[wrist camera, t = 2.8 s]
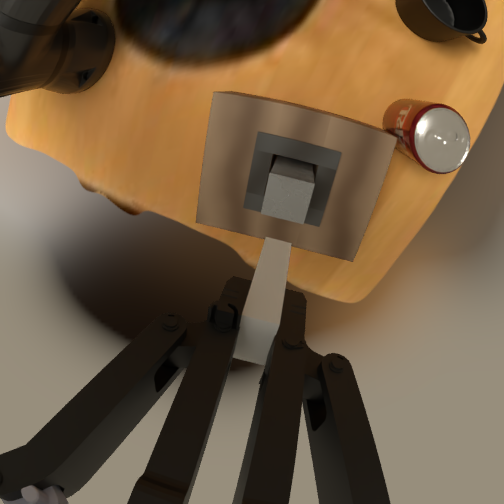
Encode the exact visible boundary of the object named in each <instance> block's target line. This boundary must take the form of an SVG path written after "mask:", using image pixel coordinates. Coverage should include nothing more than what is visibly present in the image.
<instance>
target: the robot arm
mask: <svg viewBox="0 0 504 504" xmlns="http://www.w3.org/2000/svg"><path fill="white" fill-rule="evenodd" d="M80 1H81V0H0V97H4V96H8V95H12V94H16V93H20V92H24V91H28V90H33V89H38V88H43V89H47V90H50V91H53V92H57V93H60V94H71V93H77V92H81V91H84V90H86V89H88V88H89V87H91V86H92V85H93V84H94V83H96V82H97V81H98V79H99V78H100V77H101V76H102V74H103V73H104V71H105V70H106V68H107V66H108V64H109V62H110V60H111V57H112V54H113V50H114V43H115V33H114V27H113V24H112V22H111V20H110V18H109V17H108V16H107V15H106V14H105V13H103V12H102V11H99V10H95V9H90V8H80V9H75V8H76V6H77V5H78V4H79V3H80ZM74 9H75V10H74ZM291 245H292V243H288V242H284V241H281V240H277V239H273V238H269V237H266V238H265V241H264V245H263V248H262V251H261V254H260V258H259V261H258V264H257V267H256V271H255V274H254V277H253V280H252V281H250V280H246V279H242V278H239V277H235V276H233V277H232V278H231V279H229V280H228V281H227V282H226V285H225V287H224V289H223V292H222V294H221V296H220V299H219V301H215V302H213V303H212V304H211V305H210V306H209V309H208V317H207V320H206V321H204V322H200V323H188V322H186V321H185V319H184V318H183V317H182V316H181V315H178V314H175V313H165V314H162V315H160V316H158V317H157V318H156V319H155V320H154V321H153V322H152V323H151V324H150V325H149V326H148V327H147V328H145V329H144V330H143V331H142V332H141V333H140V334H139V335H138V336H137V337H136V338H135V339H134V340H133V341H132V342H131V343H130V344H129V345H128V346H126V347H125V348H124V349H123V350H122V351H121V352H120V353H119V354H118V355H117V356H116V357H115V358H114V359H113V360H112V361H111V362H110V363H109V364H108V365H107V366H106V367H104V368H103V369H102V370H101V371H100V372H99V373H98V374H97V375H96V376H95V377H94V378H93V379H92V380H91V381H90V382H89V383H88V384H87V385H86V386H85V387H84V388H83V389H82V390H81V391H80V392H79V393H78V394H77V395H76V396H75V397H74V398H73V399H71V400H70V401H69V403H67V404H66V405H65V406H64V407H63V408H62V410H60V411H59V412H58V413H57V414H56V415H55V416H54V417H53V418H52V419H51V420H50V421H49V422H48V423H47V424H46V425H45V426H44V427H43V428H42V429H41V430H40V431H39V432H38V433H37V434H36V435H35V436H34V437H33V438H32V439H31V440H30V441H29V442H28V443H27V444H26V445H24V446H21V447H19V448H17V449H14V450H11V451H9V452H6V453H3V454H1V455H0V498H1V499H2V501H3V503H4V504H68V501H67V499H66V498H68V497H70V496H72V495H73V494H74V493H76V492H77V491H79V490H80V489H81V488H82V487H83V486H84V485H85V484H86V483H87V482H88V481H89V480H90V479H91V478H92V476H93V475H94V474H95V473H96V472H97V471H98V470H99V468H100V467H101V466H102V465H103V464H104V462H106V460H107V459H108V458H109V457H110V456H111V455H112V453H113V452H114V451H115V450H116V449H117V448H118V446H119V445H120V444H121V443H122V442H123V441H124V439H125V438H126V437H127V436H128V435H129V434H130V432H131V431H132V430H133V429H134V428H135V427H136V425H137V424H138V423H139V422H140V421H141V419H142V418H143V417H144V416H145V415H146V414H147V412H148V411H149V410H150V409H151V408H152V406H153V405H154V404H155V403H156V402H157V400H158V399H159V398H160V396H162V394H163V393H164V392H165V391H166V390H167V388H168V387H169V386H170V385H171V384H172V382H173V381H174V380H175V379H176V377H177V376H178V375H179V374H180V373H181V371H182V370H183V369H184V368H187V370H186V372H185V375H184V377H183V379H182V382H181V384H180V387H179V389H178V392H177V394H176V396H175V399H174V401H173V403H172V406H171V408H170V411H169V413H168V416H167V418H166V420H165V423H164V425H163V428H162V430H161V432H160V435H159V437H158V440H157V442H156V445H155V447H154V450H153V452H152V455H151V457H150V460H149V462H148V464H147V467H146V469H145V472H144V474H143V475H142V476H141V477H140V478H139V479H138V481H137V482H136V484H135V486H134V488H133V491H132V493H131V496H130V498H129V501H128V503H127V504H188V502H189V499H190V495H191V492H192V488H193V486H194V483H195V480H196V476H197V473H198V470H199V467H200V463H201V461H202V457H203V454H204V451H205V448H206V444H207V441H208V438H209V435H210V431H211V428H212V425H213V422H214V418H215V415H216V412H217V408H218V405H219V402H220V399H221V395H222V392H223V389H224V386H225V382H226V379H227V376H228V372H229V369H230V365H231V361H232V357H234V358H237V359H241V360H245V361H249V362H253V363H257V364H261V365H265V369H264V372H263V374H262V377H261V379H260V382H259V384H260V388H259V393H258V397H257V402H256V406H255V411H254V415H253V420H252V424H251V428H250V433H249V437H248V442H247V446H246V450H245V455H244V459H243V463H242V467H241V471H240V475H239V479H238V483H237V487H236V491H235V495H234V500H233V503H232V504H288V503H289V498H290V492H291V485H292V479H293V472H294V465H295V458H296V450H297V441H298V434H299V426H300V417H301V407H302V403H303V409H304V414H305V420H306V426H307V431H308V437H309V443H310V449H311V455H312V461H313V467H314V473H315V480H316V485H317V492H318V498H319V504H390V500H389V495H388V492H387V487H386V483H385V479H384V475H383V471H382V468H381V464H380V460H379V456H378V453H377V449H376V445H375V441H374V438H373V434H372V431H371V427H370V424H369V421H368V417H367V414H366V411H365V407H364V404H363V401H362V397H361V394H360V391H359V388H358V385H357V381H356V378H355V375H354V372H353V369H352V366H351V364H350V362H349V360H347V359H346V358H345V357H344V356H342V355H340V354H336V353H331V354H327V355H326V356H322V355H320V354H317V353H316V352H314V351H312V350H311V349H310V348H309V347H308V346H307V344H306V341H305V339H304V332H305V319H306V316H305V315H306V302H307V301H306V299H305V296H304V295H303V293H300V292H296V291H292V290H288V289H285V287H286V280H287V273H288V266H289V259H290V252H291ZM265 363H266V364H265Z"/></svg>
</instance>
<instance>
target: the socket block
mask: <svg viewBox="0 0 504 504" xmlns="http://www.w3.org/2000/svg"><path fill="white" fill-rule="evenodd" d="M396 141H397V137H395V136H393V135H391V134H389V133H388V132H386V131H384V130H382V129H380V128H377V127H374V126H372V125H369V124H366V123H363V122H360V121H356V120H353V119H350V118H347V117H343V116H340V115H337V114H333V113H330V112H326V111H322V110H319V109H315V108H311V107H307V106H303V105H299V104H295V103H290V102H286V101H281V100H276V99H272V98H267V97H261V96H256V95H250V94H245V93H239V92H232V91H225V92H213V98H212V104H211V110H210V117H209V123H208V130H207V136H206V143H205V150H204V158H203V165H202V173H201V181H200V189H199V198H198V207H197V216H196V223H200V224H204V225H208V226H212V227H216V228H220V229H224V230H228V231H233V232H237V233H241V234H245V235H249V236H253V237H257V238H261V239H265V238H266V237H269V238H273V239H277V240H281V241H284V242H288V243H292V245H291V246H293V247H297V248H301V249H305V250H308V251H312V252H316V253H320V254H324V255H328V256H332V257H336V258H340V259H343V260H347V261H351V262H353V260H354V258H355V256H356V253H357V251H358V248H359V246H360V243H361V241H362V238H363V236H364V233H365V231H366V228H367V226H368V223H369V221H370V218H371V215H372V213H373V210H374V207H375V204H376V202H377V199H378V196H379V193H380V190H381V188H382V185H383V182H384V179H385V176H386V173H387V170H388V167H389V164H390V161H391V158H392V154H393V151H394V148H395V145H396ZM276 155H281V156H285V157H289V158H293V159H297V160H301V161H305V162H309V163H312V164H313V174H314V182H315V186H314V189H313V193H312V196H311V200H310V203H309V207H308V210H307V214H306V217H305V221H304V224H300V223H296V222H292V221H288V220H284V219H280V218H276V217H272V216H268V215H264V214H261V210H262V206H263V201H264V196H265V192H266V187H267V183H268V178H269V173H270V171H271V170H272V168H273V166H274V163H275V159H276Z"/></svg>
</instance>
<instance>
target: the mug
mask: <svg viewBox="0 0 504 504" xmlns="http://www.w3.org/2000/svg"><path fill="white" fill-rule="evenodd" d="M396 7H397V10H398V13H399V15H400V17H401V19H402V20H403V22H404V23H405V24H406V25H407V26H408V27H409V28H410V29H411V30H412V31H413V32H414V33H416V34H417V35H419V36H421V37H422V38H424V39H427V40H430V41H435V42H442V41H446V40H450V39H454V38H457V37H461V36H466V37H467V38H469V39H470V40H472V41H474V42H476V43H479V44H483V43H485V42H486V40H487V38H486V35H485V33H484V32H483V30H482V29H483V28H484V26H485V24H486V22H487V7H486V3H485V1H484V0H396ZM477 32H478V34H479V35H480V38H477V37H475V36H473V35H471V34H474V33H477Z"/></svg>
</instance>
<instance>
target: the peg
mask: <svg viewBox="0 0 504 504" xmlns="http://www.w3.org/2000/svg"><path fill="white" fill-rule="evenodd" d="M314 186H315V182H314V174H313V164H312V163H308V162H304V161H300V160H296V159H292V158H288V157H284V156H280V155H278V156H277V159H276V161H275V163H274V166H273V168H272V170H271V171H270V173H269V178H268V183H267V187H266V192H265V196H264V201H263V206H262V210H261V214H264V215H268V216H272V217H276V218H280V219H284V220H288V221H292V222H296V223H300V224H304V221H305V217H306V214H307V210H308V207H309V203H310V200H311V196H312V193H313V189H314Z"/></svg>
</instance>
